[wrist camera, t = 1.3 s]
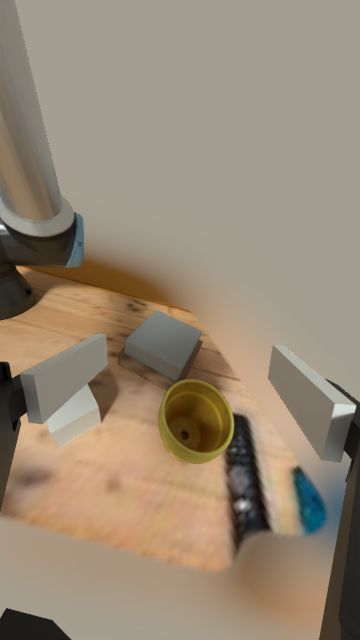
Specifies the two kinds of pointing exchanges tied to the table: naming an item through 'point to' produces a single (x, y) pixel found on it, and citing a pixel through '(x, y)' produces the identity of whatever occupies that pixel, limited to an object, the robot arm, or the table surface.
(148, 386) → the table surface
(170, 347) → the gray square slab
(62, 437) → the matte white cube
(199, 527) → the table surface
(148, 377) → the walnut base slab
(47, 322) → the table surface
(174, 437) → the plant pot
